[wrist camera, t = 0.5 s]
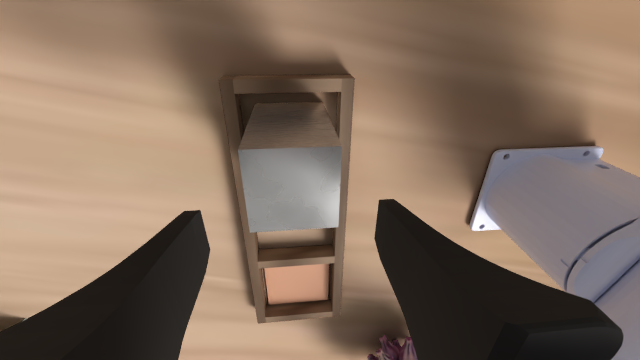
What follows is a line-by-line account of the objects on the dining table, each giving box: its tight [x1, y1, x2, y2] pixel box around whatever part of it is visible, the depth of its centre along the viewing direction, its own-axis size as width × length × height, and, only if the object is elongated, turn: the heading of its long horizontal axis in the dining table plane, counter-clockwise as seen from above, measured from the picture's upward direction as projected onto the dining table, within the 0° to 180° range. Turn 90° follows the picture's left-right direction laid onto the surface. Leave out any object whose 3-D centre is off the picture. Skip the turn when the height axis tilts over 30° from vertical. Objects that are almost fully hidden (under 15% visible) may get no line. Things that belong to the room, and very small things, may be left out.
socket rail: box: [219, 74, 355, 323], centre depth 24 cm, size 8×23×2 cm, turn 0°
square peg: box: [238, 102, 342, 233], centre depth 17 cm, size 5×5×8 cm
